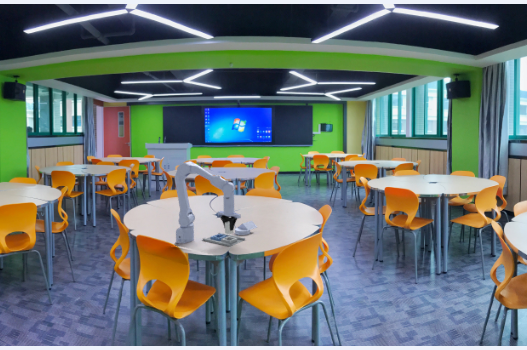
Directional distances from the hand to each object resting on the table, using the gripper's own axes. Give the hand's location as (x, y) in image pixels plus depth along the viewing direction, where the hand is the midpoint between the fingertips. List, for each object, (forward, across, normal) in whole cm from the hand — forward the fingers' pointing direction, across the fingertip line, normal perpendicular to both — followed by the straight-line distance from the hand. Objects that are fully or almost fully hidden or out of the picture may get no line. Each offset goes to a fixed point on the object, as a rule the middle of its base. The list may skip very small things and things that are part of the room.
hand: (229, 229), depth 187 cm
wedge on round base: (+8, +4, -19) cm, 21 cm away
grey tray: (+8, +4, 0) cm, 8 cm away
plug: (+2, 0, 0) cm, 2 cm away
